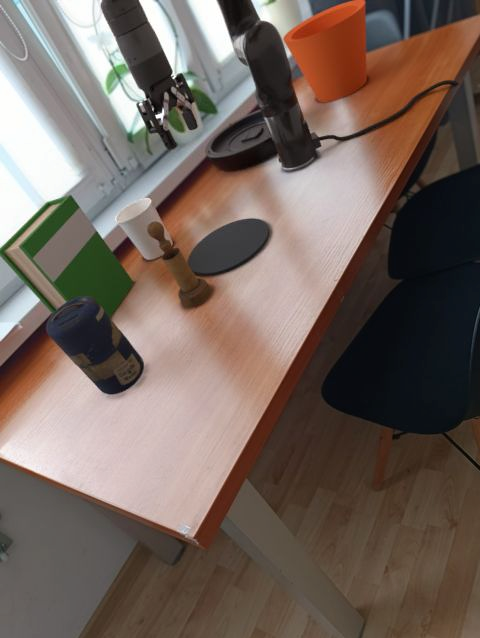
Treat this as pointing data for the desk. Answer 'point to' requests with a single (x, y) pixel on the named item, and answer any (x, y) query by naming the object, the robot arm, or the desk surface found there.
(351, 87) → the flowerpot
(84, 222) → the hardback book
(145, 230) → the white cup
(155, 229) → the brown wooden turned piece
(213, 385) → the desk surface
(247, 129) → the black round plastic slab
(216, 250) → the disc
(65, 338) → the canister
